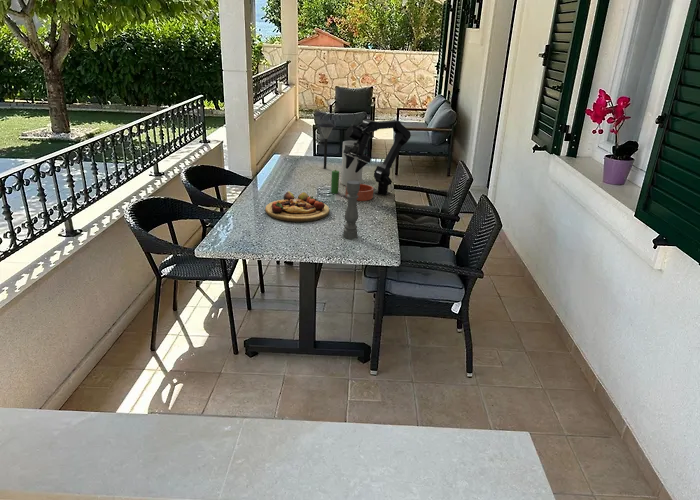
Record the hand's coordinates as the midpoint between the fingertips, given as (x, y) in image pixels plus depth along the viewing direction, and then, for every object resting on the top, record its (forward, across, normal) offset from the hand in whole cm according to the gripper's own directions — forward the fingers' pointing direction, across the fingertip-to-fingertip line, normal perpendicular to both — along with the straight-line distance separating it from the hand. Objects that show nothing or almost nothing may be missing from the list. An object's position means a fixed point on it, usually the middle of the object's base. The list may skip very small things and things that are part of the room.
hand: (351, 170), depth 274 cm
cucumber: (+15, -12, +4) cm, 20 cm away
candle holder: (+26, +49, -23) cm, 60 cm away
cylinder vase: (+8, -24, +21) cm, 33 cm away
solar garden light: (+7, -63, +25) cm, 68 cm away
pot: (+12, 0, +12) cm, 17 cm away
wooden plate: (+29, +9, -29) cm, 42 cm away
